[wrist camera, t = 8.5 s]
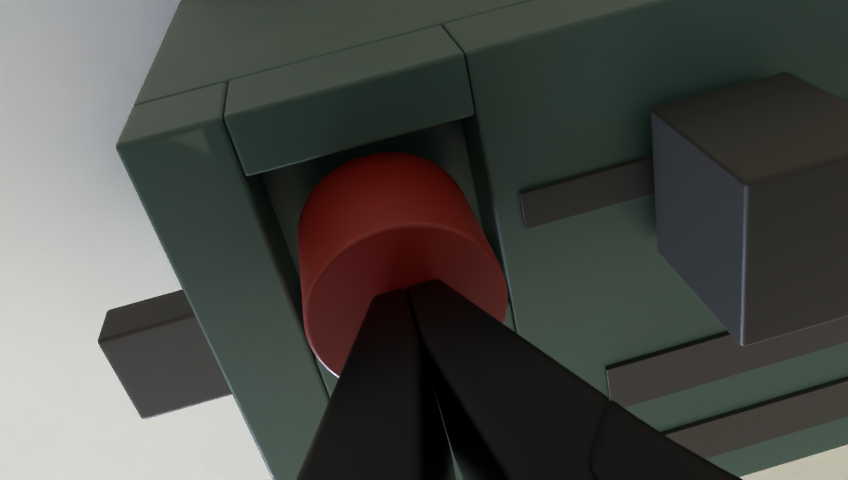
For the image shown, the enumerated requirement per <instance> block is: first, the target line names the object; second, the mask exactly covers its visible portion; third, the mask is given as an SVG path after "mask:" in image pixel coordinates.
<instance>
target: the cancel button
mask: <svg viewBox="0 0 848 480" xmlns="http://www.w3.org/2000/svg"><path fill="white" fill-rule="evenodd" d="M298 250H299V264H300V278H301V292H302V306H303V320H304V329H305V333H306V337H307V340H308V343H309V345H310V347H311V349H312V351H313V352H314V354H315V355H316V357H317V358H318V360H319V361H320V362H321V363H322V364H323V365H324V366H325V367H326V368H327V369H328V370H329V371H330V372H331V373H333V374H334V375H335V376H336V377H338V378H339V376H340V374H341V371H342V369H343V367H344V364H345V362H346V360H347V357H348V355H349V352H350V350H351V348H352V345H353V343H354V341H355V338H356V336H357V333H358V331H359V329H360V326H361V324H362V322H363V319H364V317H365V314H366V312H367V310H368V307H369V305H370V303H371V300H372V298H373V297H374V296H376V295H379V294H382V293H386V292H389V291H393V290H397V289H404V290H405V291H406V292H407V290H408V288H409V286H411V285H414V284H418V283H421V282H425V281H428V280H432V279H440V280H441V281H443V282H444V283H446V284H447V285H449V286H450V287H451V288H453V289H454V290H456V291H457V292H459V293H460V294H461V295H463V296H464V297H466V298H467V299H469V300H470V301H471V302H473V303H474V304H476V305H477V306H479V307H480V308H481V309H483V310H484V311H486V312H487V313H489V314H490V315H491V316H493V317H494V318H496V319H497V320H499V321H500V322H502V323H504V320H505V316H506V311H507V306H508V290H507V283H506V279H505V275H504V273H503V270H502V268H501V266H500V264H499V262H498V260H497V258H496V256H495V254H494V252H493V250H492V248H491V246H490V244H489V242H488V240H487V238H486V236H485V234H484V232H483V230H482V229H481V227H480V225H479V223H478V221H477V219H476V217H475V215H474V213H473V211H472V209H471V207H470V205H469V203H468V201H467V199H466V197H465V195H464V193H463V191H462V190H461V188H460V187H459V185H458V184H457V182H456V181H455V180H454V179H453V178H452V176H451V175H450V174H448V173H447V172H446V171H445V170H444V169H443V168H441V167H440V166H438V165H436V164H435V163H433V162H431V161H429V160H427V159H424V158H422V157H419V156H415V155H412V154H407V153H400V152H381V153H373V154H368V155H364V156H361V157H358V158H355V159H352V160H350V161H348V162H346V163H344V164H342V165H340V166H339V167H337V168H336V169H334V170H333V171H331V172H330V173H329V174H328V175H326V176H325V177H324V178H323V179H322V180H321V181H320V182H319V183H318V184H317V185H316V186H315V188H314V189H313V190H312V192H311V193H310V195H309V196H308V198H307V200H306V202H305V204H304V206H303V208H302V211H301V214H300V218H299V223H298ZM407 295H408V293H407ZM408 298H409V297H408ZM409 302H410V301H409ZM410 305H411V304H410Z"/></svg>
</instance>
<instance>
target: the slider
mask: <svg viewBox="0 0 848 480" xmlns="http://www.w3.org/2000/svg"><path fill="white" fill-rule="evenodd" d="M651 122H652V142H653V163H654V184H655V205H656V225H657V246H658V252H659V253H660V254H661V256H662V257H663V258H664V259H665V260H666V261H667V262H668V264H669V265H670V266H671V267H672V268H673V269H674V270H675V271H676V273H677V274H678V275H679V276H680V277H681V278H682V279H683V281H684V282H685V283H686V284H687V285H688V286H689V287H690V289H691V290H692V291H693V292H694V293H695V294H696V295H697V296H698V298H699V299H700V300H701V301H702V302H703V303H704V304H705V306H706V307H707V308H708V309H709V310H710V311H711V312H712V313H713V315H714V316H715V317H716V318H717V319H718V320H719V321H720V323H721V324H722V325H723V326H724V327H725V328H726V329H727V330H728V332H729V333H730V334H731V335H732V336H733V337H734V338H735V340H736V341H737V342H738V343H739V344H740V345H741V346H749V345H752V344H756V343H759V342H762V341H766V340H769V339H773V338H776V337H780V336H783V335H786V334H790V333H793V332H797V331H800V330H803V329H807V328H810V327H814V326H817V325H821V324H824V323H827V322H831V321H834V320H838V319H841V318H845V317H848V102H847V101H845V100H843V99H841V98H839V97H837V96H835V95H833V94H831V93H829V92H827V91H825V90H823V89H821V88H819V87H817V86H815V85H813V84H811V83H809V82H807V81H805V80H803V79H801V78H799V77H797V76H796V75H794V74H792V73H790V72H782V73H779V74H775V75H771V76H768V77H764V78H760V79H757V80H753V81H749V82H746V83H742V84H738V85H735V86H731V87H728V88H724V89H720V90H717V91H713V92H709V93H706V94H702V95H698V96H695V97H691V98H687V99H684V100H680V101H676V102H673V103H669V104H666V105H662V106H658V107H655V108H653V109H652V110H651Z"/></svg>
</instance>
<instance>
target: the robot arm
mask: <svg viewBox="0 0 848 480" xmlns="http://www.w3.org/2000/svg"><path fill="white" fill-rule="evenodd" d="M407 293H408V295H407ZM408 297H409V298H408ZM409 301H410V302H409ZM410 304H411V305H410ZM438 404H439V405H438ZM440 411H441V412H440ZM441 415H442V416H441ZM442 418H443V419H442ZM443 422H444V423H443ZM444 425H445V427H444ZM445 429H446V430H445ZM446 432H447V434H446ZM447 436H448V437H447ZM448 439H449V441H448ZM449 443H450V445H449ZM450 446H451V449H452V452H453V455H454V458H455V460H456V463H457V465H458V468H459V470H460V473H461V475H462V478H463V480H742V479H741V478H739V477H737V476H735V475H733V474H731V473H729V472H728V471H726V470H724V469H722V468H720V467H718V466H717V465H715V464H713V463H711V462H710V461H708V460H706V459H704V458H703V457H701V456H699V455H697V454H696V453H694V452H692V451H690V450H689V449H687V448H685V447H683V446H682V445H680V444H678V443H677V442H675V441H673V440H672V439H670V438H669V437H667V436H665V435H664V434H662V433H661V432H659V431H658V430H656V429H655V428H653V427H652V426H650V425H649V424H647V423H646V422H644V421H643V420H641V419H639V418H638V417H636V416H635V415H634V414H632V413H631V412H629V411H628V410H626V409H625V408H624V407H622V406H621V405H619V404H618V403H617V402H615V401H610V400H609V398H608V397H607V396H606V395H605V394H603V393H602V392H600V391H599V390H597V389H596V388H595V387H593V386H592V385H590V384H589V383H587V382H586V381H585V380H583V379H582V378H580V377H579V376H577V375H576V374H575V373H573V372H572V371H570V370H569V369H567V368H566V367H565V366H563V365H562V364H560V363H559V362H557V361H556V360H554V359H553V358H552V357H550V356H549V355H547V354H546V353H544V352H543V351H542V350H540V349H539V348H537V347H536V346H534V345H533V344H532V343H530V342H529V341H527V340H526V339H524V338H523V337H522V336H520V335H519V334H517V333H516V332H514V331H513V330H512V329H510V328H509V327H507V326H506V325H504V324H503V323H502V322H500V321H499V320H497V319H496V318H494V317H493V316H491V315H490V314H489V313H487V312H486V311H484V310H483V309H481V308H480V307H479V306H477V305H476V304H474V303H473V302H471V301H470V300H469V299H467V298H466V297H464V296H463V295H461V294H460V293H459V292H457V291H456V290H454V289H453V288H451V287H450V286H449V285H447V284H446V283H444V282H443V281H441V280H440V279H432V280H428V281H425V282H421V283H418V284H414V285H411V286H409V288H408V290H407V292H406V291H405V290H404V289H397V290H393V291H389V292H386V293H382V294H379V295H376V296H374V297H373V298H372V300H371V303H370V305H369V307H368V310H367V312H366V314H365V317H364V319H363V322H362V324H361V326H360V329H359V331H358V333H357V336H356V338H355V341H354V343H353V345H352V348H351V350H350V352H349V355H348V357H347V360H346V362H345V364H344V367H343V369H342V371H341V374H340V376H339V378H338V381H337V383H336V386H335V388H334V390H333V393H332V395H331V397H330V400H329V402H328V405H327V407H326V409H325V412H324V414H323V416H322V419H321V421H320V423H319V426H318V428H317V431H316V433H315V435H314V438H313V440H312V442H311V445H310V447H309V450H308V452H307V454H306V457H305V459H304V461H303V464H302V466H301V468H300V471H299V473H298V476H297V478H296V480H456V474H455V469H454V463H453V458H452V453H451V449H450Z"/></svg>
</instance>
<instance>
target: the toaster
mask: <svg viewBox="0 0 848 480" xmlns="http://www.w3.org/2000/svg"><path fill="white" fill-rule="evenodd" d="M782 72H790V73H792V74H794V75H796V76H797V77H799V78H801V79H803V80H805V81H807V82H809V83H811V84H813V85H815V86H817V87H819V88H821V89H823V90H825V91H827V92H829V93H831V94H833V95H835V96H837V97H839V98H841V99H843V100H845V101H847V102H848V0H181V2H180V4H179V6H178V8H177V10H176V13H175V15H174V17H173V19H172V22H171V24H170V26H169V28H168V30H167V33H166V35H165V37H164V39H163V42H162V44H161V46H160V48H159V50H158V53H157V55H156V57H155V59H154V62H153V64H152V66H151V68H150V70H149V73H148V75H147V77H146V79H145V82H144V84H143V86H142V88H141V90H140V93H139V95H138V97H137V99H136V102H135V104H134V108H133V109H132V111H131V113H130V115H129V118H128V120H127V122H126V124H125V126H124V129H123V131H122V133H121V135H120V138H119V140H118V142H117V144H116V150H117V152H118V154H119V156H120V158H121V160H122V162H123V164H124V167H125V169H126V171H127V173H128V175H129V177H130V179H131V181H132V183H133V186H134V188H135V190H136V192H137V194H138V196H139V198H140V200H141V202H142V205H143V207H144V209H145V211H146V213H147V215H148V217H149V219H150V221H151V224H152V226H153V228H154V230H155V232H156V234H157V236H158V238H159V240H160V242H161V245H162V247H163V249H164V251H165V253H166V255H167V257H168V259H169V261H170V264H171V266H172V268H173V270H174V272H175V274H176V276H177V278H178V280H179V283H180V285H181V287H182V289H183V290H179V291H176V292H172V293H168V294H165V295H161V296H158V297H154V298H150V299H147V300H143V301H140V302H136V303H132V304H129V305H125V306H122V307H118V308H114V309H111V310H109V311H108V312H107V314H106V317H105V320H104V323H103V326H102V329H101V332H100V336H99V339H98V343H99V345H100V347H101V349H102V350H103V352H104V354H105V356H106V357H107V359H108V361H109V363H110V364H111V366H112V368H113V370H114V371H115V373H116V375H117V376H118V378H119V380H120V382H121V383H122V385H123V387H124V389H125V390H126V392H127V394H128V396H129V397H130V399H131V401H132V402H133V404H134V406H135V408H136V409H137V411H138V413H139V415H140V416H141V418H142V419H147V418H151V417H154V416H158V415H161V414H165V413H168V412H172V411H175V410H179V409H182V408H186V407H189V406H193V405H196V404H200V403H203V402H207V401H210V400H214V399H217V398H221V397H224V396H228V395H231V394H233V396H234V398H235V401H236V403H237V405H238V407H239V409H240V411H241V413H242V415H243V417H244V420H245V422H246V424H247V426H248V428H249V430H250V432H251V434H252V436H253V439H254V441H255V443H256V445H257V447H258V449H259V451H260V453H261V455H262V458H263V460H264V462H265V464H266V466H267V468H268V470H269V472H270V474H271V476H272V479H273V480H296V478H297V476H298V473H299V471H300V468H301V466H302V464H303V461H304V459H305V457H306V454H307V452H308V450H309V447H310V445H311V442H312V440H313V438H314V435H315V433H316V431H317V428H318V426H319V423H320V421H321V419H322V416H323V414H324V412H325V409H326V407H327V405H328V402H329V400H330V397H331V395H332V393H333V390H334V388H335V386H336V383H337V381H338V377H336V376H335V375H334V374H333V373H331V372H330V371H329V370H328V369H327V368H326V367H325V366H324V365H323V364H322V363H321V362H320V361H319V360H318V358H317V357H316V355H315V354H314V352H313V351H312V349H311V347H310V345H309V343H308V340H307V337H306V333H305V329H304V320H303V306H302V292H301V278H300V264H299V250H298V223H299V218H300V214H301V211H302V208H303V206H304V204H305V202H306V200H307V198H308V196H309V195H310V193H311V192H312V190H313V189H314V188H315V186H316V185H317V184H318V183H319V182H320V181H321V180H322V179H323V178H324V177H325V176H326V175H328V174H329V173H330V172H331V171H333V170H334V169H336V168H337V167H339V166H340V165H342V164H344V163H346V162H348V161H350V160H352V159H355V158H358V157H361V156H364V155H368V154H373V153H381V152H400V153H407V154H412V155H415V156H419V157H422V158H424V159H427V160H429V161H431V162H433V163H435V164H436V165H438V166H440V167H441V168H443V169H444V170H445V171H446V172H447V173H448V174H450V175H451V176H452V178H453V179H454V180H455V181H456V182H457V184H458V185H459V187H460V188H461V190H462V191H463V193H464V195H465V197H466V199H467V201H468V203H469V205H470V207H471V209H472V211H473V213H474V215H475V217H476V219H477V221H478V223H479V225H480V227H481V229H482V230H483V232H484V234H485V236H486V238H487V240H488V242H489V244H490V246H491V248H492V250H493V252H494V254H495V256H496V258H497V260H498V262H499V264H500V266H501V268H502V270H503V273H504V275H505V279H506V283H507V290H508V306H507V311H506V316H505V320H504V323H503V324H504V325H506V326H507V327H509V328H510V329H512V330H513V331H514V332H516V333H517V334H519V335H520V336H522V337H523V338H524V339H526V340H527V341H529V342H530V343H532V344H533V345H534V346H536V347H537V348H539V349H540V350H542V351H543V352H544V353H546V354H547V355H549V356H550V357H552V358H553V359H554V360H556V361H557V362H559V363H560V364H562V365H563V366H565V367H566V368H567V369H569V370H570V371H572V372H573V373H575V374H576V375H577V376H579V377H580V378H582V379H583V380H585V381H586V382H587V383H589V384H590V385H592V386H593V387H595V388H596V389H597V390H599V391H600V392H602V393H603V394H605V395H606V396H607V397H608V398H609V400H610V401H615V402H617V403H618V404H619V405H621V406H622V407H624V408H625V409H626V410H628V411H629V412H631V413H632V414H634V415H635V416H636V417H638V418H639V419H641V420H643V421H644V422H646V423H647V424H649V425H650V426H652V427H653V428H655V429H656V430H658V431H659V432H661V433H662V434H664V435H665V436H667V437H669V438H670V439H672V440H673V441H675V442H677V443H678V444H680V445H682V446H683V447H685V448H687V449H689V450H690V451H692V452H694V453H696V454H697V455H699V456H701V457H703V458H704V459H706V460H708V461H710V462H711V463H713V464H715V465H717V466H718V467H720V468H722V469H724V470H726V471H728V472H729V473H731V474H733V475H735V476H737V477H741V476H744V475H748V474H751V473H754V472H758V471H761V470H764V469H768V468H771V467H774V466H778V465H781V464H784V463H788V462H791V461H794V460H798V459H801V458H804V457H808V456H811V455H814V454H818V453H821V452H824V451H828V450H831V449H834V448H837V447H841V446H844V445H847V444H848V317H845V318H841V319H838V320H834V321H831V322H827V323H824V324H821V325H817V326H814V327H810V328H807V329H803V330H800V331H797V332H793V333H790V334H786V335H783V336H780V337H776V338H773V339H769V340H766V341H762V342H759V343H756V344H752V345H749V346H741V345H740V344H739V343H738V342H737V341H736V340H735V338H734V337H733V336H732V335H731V334H730V333H729V332H728V330H727V329H726V328H725V327H724V326H723V325H722V324H721V323H720V321H719V320H718V319H717V318H716V317H715V316H714V315H713V313H712V312H711V311H710V310H709V309H708V308H707V307H706V306H705V304H704V303H703V302H702V301H701V300H700V299H699V298H698V296H697V295H696V294H695V293H694V292H693V291H692V290H691V289H690V287H689V286H688V285H687V284H686V283H685V282H684V281H683V279H682V278H681V277H680V276H679V275H678V274H677V273H676V271H675V270H674V269H673V268H672V267H671V266H670V265H669V264H668V262H667V261H666V260H665V259H664V258H663V257H662V256H661V254H660V253H659V252H658V246H657V225H656V205H655V184H654V163H653V142H652V122H651V110H652V109H653V108H655V107H658V106H662V105H666V104H669V103H673V102H676V101H680V100H684V99H687V98H691V97H695V96H698V95H702V94H706V93H709V92H713V91H717V90H720V89H724V88H728V87H731V86H735V85H738V84H742V83H746V82H749V81H753V80H757V79H760V78H764V77H768V76H771V75H775V74H779V73H782ZM438 405H439V404H438ZM440 412H441V411H440ZM441 416H442V415H441ZM442 419H443V418H442ZM443 423H444V422H443ZM444 427H445V425H444ZM445 430H446V429H445ZM446 434H447V432H446ZM447 437H448V436H447ZM448 441H449V439H448ZM449 445H450V443H449ZM450 449H451V446H450ZM451 453H452V458H453V463H454V469H455V474H456V480H463V478H462V475H461V473H460V470H459V468H458V465H457V463H456V460H455V458H454V455H453V452H452V449H451Z"/></svg>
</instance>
